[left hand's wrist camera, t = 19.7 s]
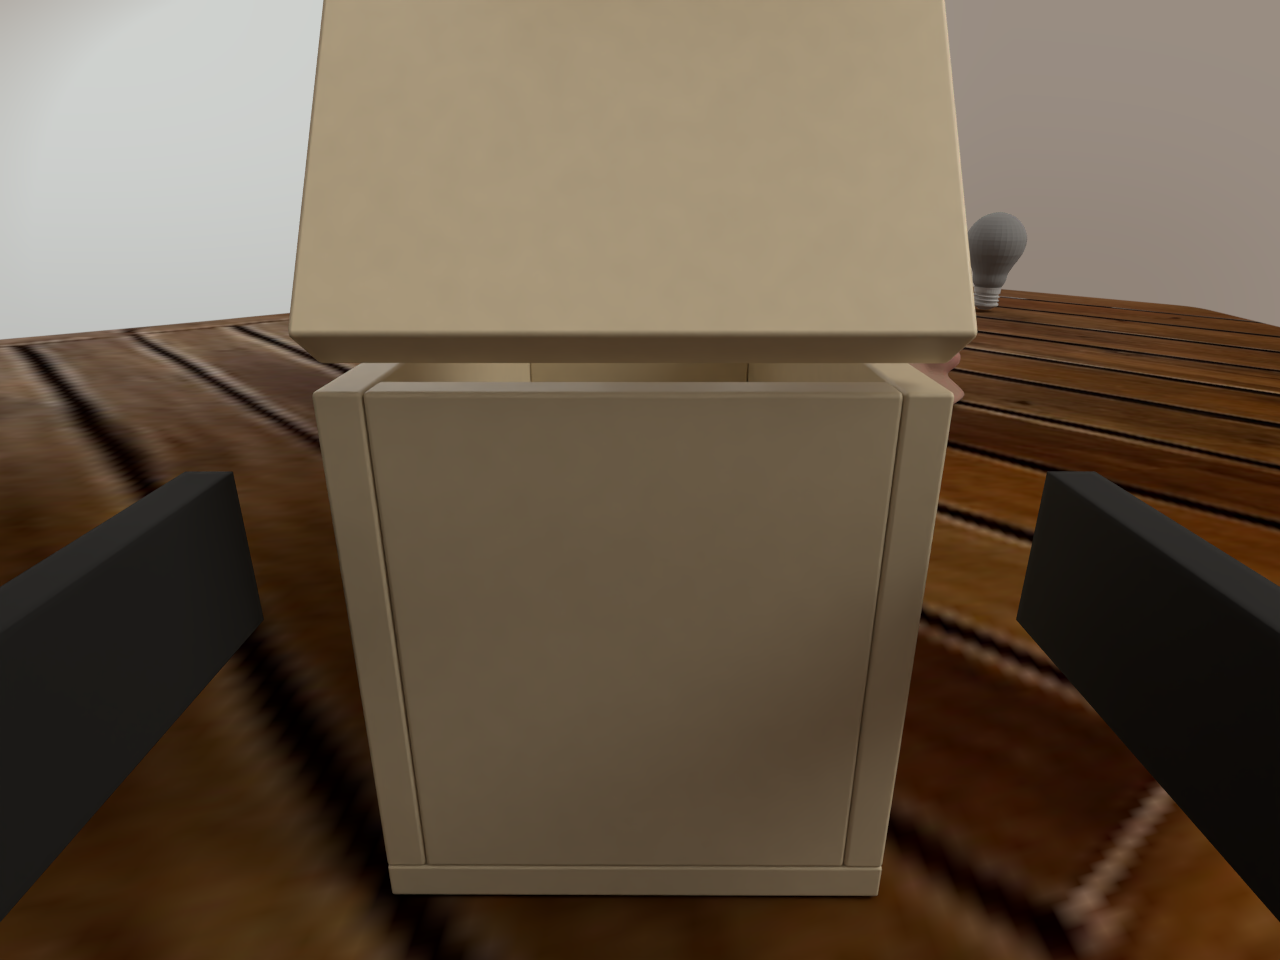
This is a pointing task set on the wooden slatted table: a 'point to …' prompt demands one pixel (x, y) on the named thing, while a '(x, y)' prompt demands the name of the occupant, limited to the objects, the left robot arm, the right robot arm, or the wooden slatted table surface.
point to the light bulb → (994, 254)
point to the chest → (634, 617)
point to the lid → (633, 184)
